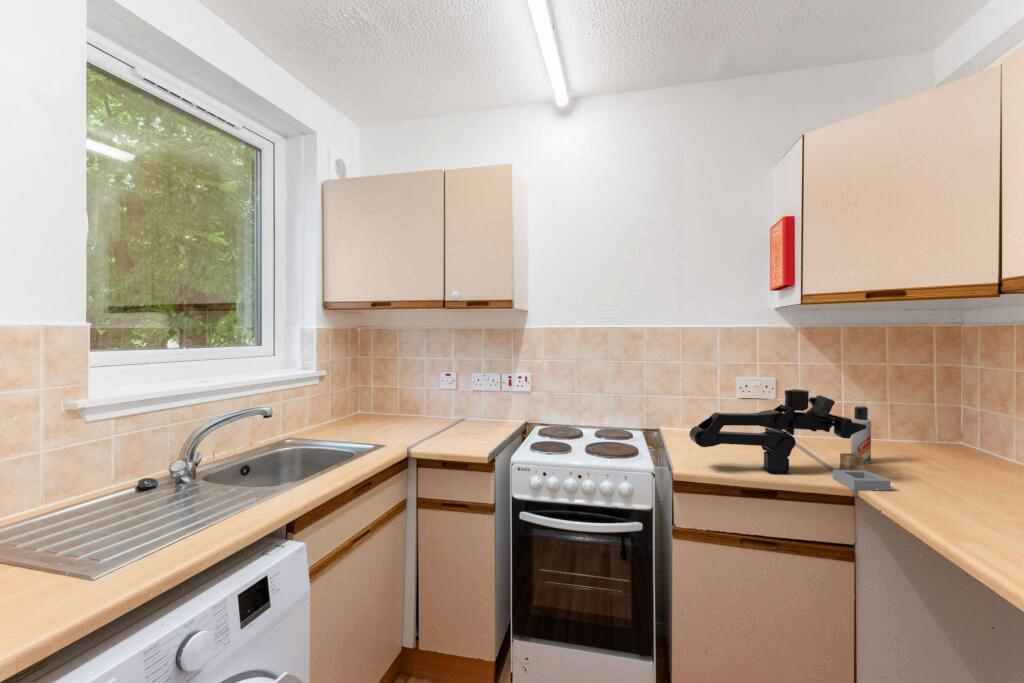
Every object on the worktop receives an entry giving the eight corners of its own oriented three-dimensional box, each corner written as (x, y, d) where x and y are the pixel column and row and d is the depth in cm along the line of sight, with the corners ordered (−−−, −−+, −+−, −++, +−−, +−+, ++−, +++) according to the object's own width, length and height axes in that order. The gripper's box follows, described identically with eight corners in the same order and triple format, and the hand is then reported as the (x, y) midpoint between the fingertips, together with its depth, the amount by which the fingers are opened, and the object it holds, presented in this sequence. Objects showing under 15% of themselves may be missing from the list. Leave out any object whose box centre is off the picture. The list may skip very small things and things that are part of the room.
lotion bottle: (874, 464, 157) (874, 407, 157) (856, 463, 158) (856, 407, 158) (865, 459, 163) (865, 405, 163) (847, 459, 164) (847, 404, 164)
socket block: (854, 490, 132) (854, 480, 132) (832, 479, 142) (832, 469, 142) (890, 491, 131) (890, 481, 131) (866, 480, 141) (866, 470, 141)
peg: (848, 475, 146) (848, 456, 146) (840, 471, 150) (840, 453, 150) (863, 475, 145) (863, 457, 145) (853, 471, 150) (854, 453, 150)
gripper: (825, 402, 139) (878, 404, 138) (793, 392, 157) (839, 393, 156) (822, 437, 140) (875, 440, 138) (790, 423, 158) (837, 425, 157)
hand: (856, 423), depth 147 cm, fingers open, 9 cm apart
